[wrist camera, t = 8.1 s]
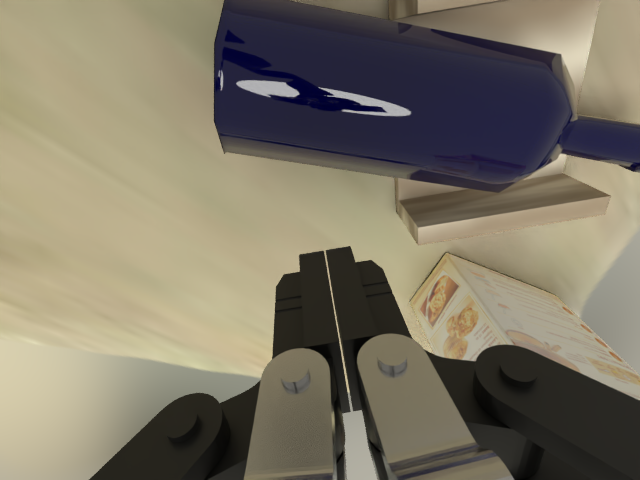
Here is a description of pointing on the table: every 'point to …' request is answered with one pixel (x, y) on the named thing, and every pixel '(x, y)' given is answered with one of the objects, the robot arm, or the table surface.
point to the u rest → (541, 187)
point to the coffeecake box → (511, 322)
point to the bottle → (398, 99)
